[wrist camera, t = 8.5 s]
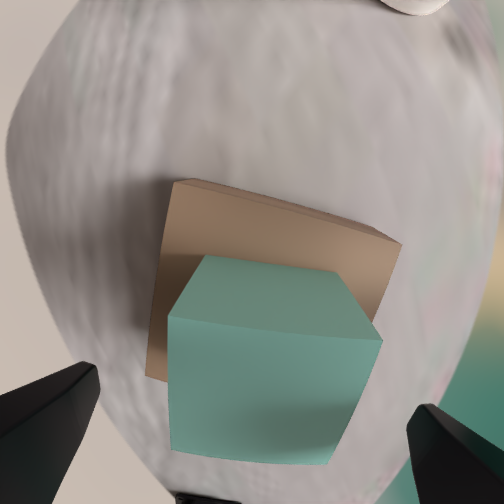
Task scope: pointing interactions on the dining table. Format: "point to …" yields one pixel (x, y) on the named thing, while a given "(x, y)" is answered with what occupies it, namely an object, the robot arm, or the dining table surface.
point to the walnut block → (259, 248)
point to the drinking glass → (416, 6)
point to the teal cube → (265, 362)
